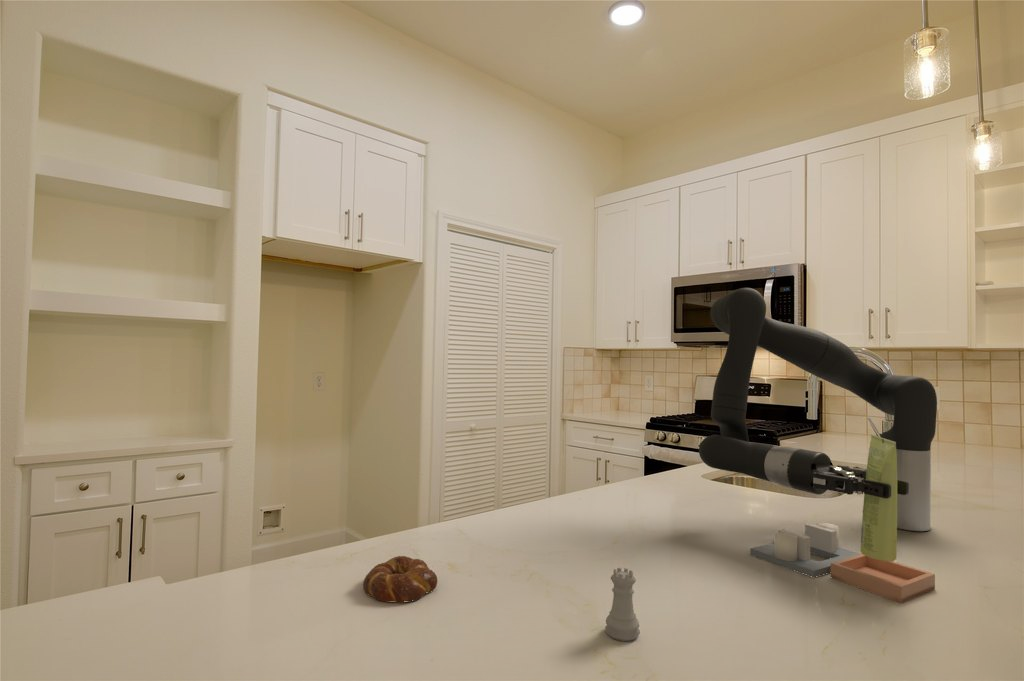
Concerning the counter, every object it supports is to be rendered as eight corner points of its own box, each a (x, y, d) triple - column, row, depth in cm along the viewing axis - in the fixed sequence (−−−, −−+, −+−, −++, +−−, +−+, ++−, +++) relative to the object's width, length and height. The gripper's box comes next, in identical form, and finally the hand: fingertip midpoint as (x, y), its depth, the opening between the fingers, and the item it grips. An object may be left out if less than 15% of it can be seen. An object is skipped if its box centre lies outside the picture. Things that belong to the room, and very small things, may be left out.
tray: (864, 566, 97) (864, 552, 97) (934, 589, 88) (934, 574, 88) (830, 577, 92) (830, 563, 92) (901, 603, 83) (901, 586, 83)
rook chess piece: (601, 625, 74) (602, 565, 74) (633, 625, 74) (634, 564, 74) (609, 643, 69) (611, 578, 69) (644, 642, 70) (645, 578, 70)
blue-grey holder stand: (802, 541, 110) (802, 516, 110) (866, 561, 100) (866, 533, 100) (749, 555, 102) (749, 527, 102) (812, 578, 91) (813, 548, 92)
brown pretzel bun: (359, 578, 88) (360, 554, 88) (427, 570, 92) (427, 548, 92) (366, 611, 77) (367, 584, 77) (443, 601, 80) (443, 575, 81)
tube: (906, 560, 89) (909, 439, 89) (892, 566, 86) (895, 441, 87) (868, 548, 94) (871, 434, 94) (853, 554, 91) (856, 435, 91)
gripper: (774, 450, 99) (876, 470, 85) (820, 446, 106) (921, 463, 92) (773, 492, 99) (874, 519, 84) (819, 485, 106) (920, 508, 92)
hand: (898, 490), depth 88 cm, fingers closed on tube, 5 cm apart
